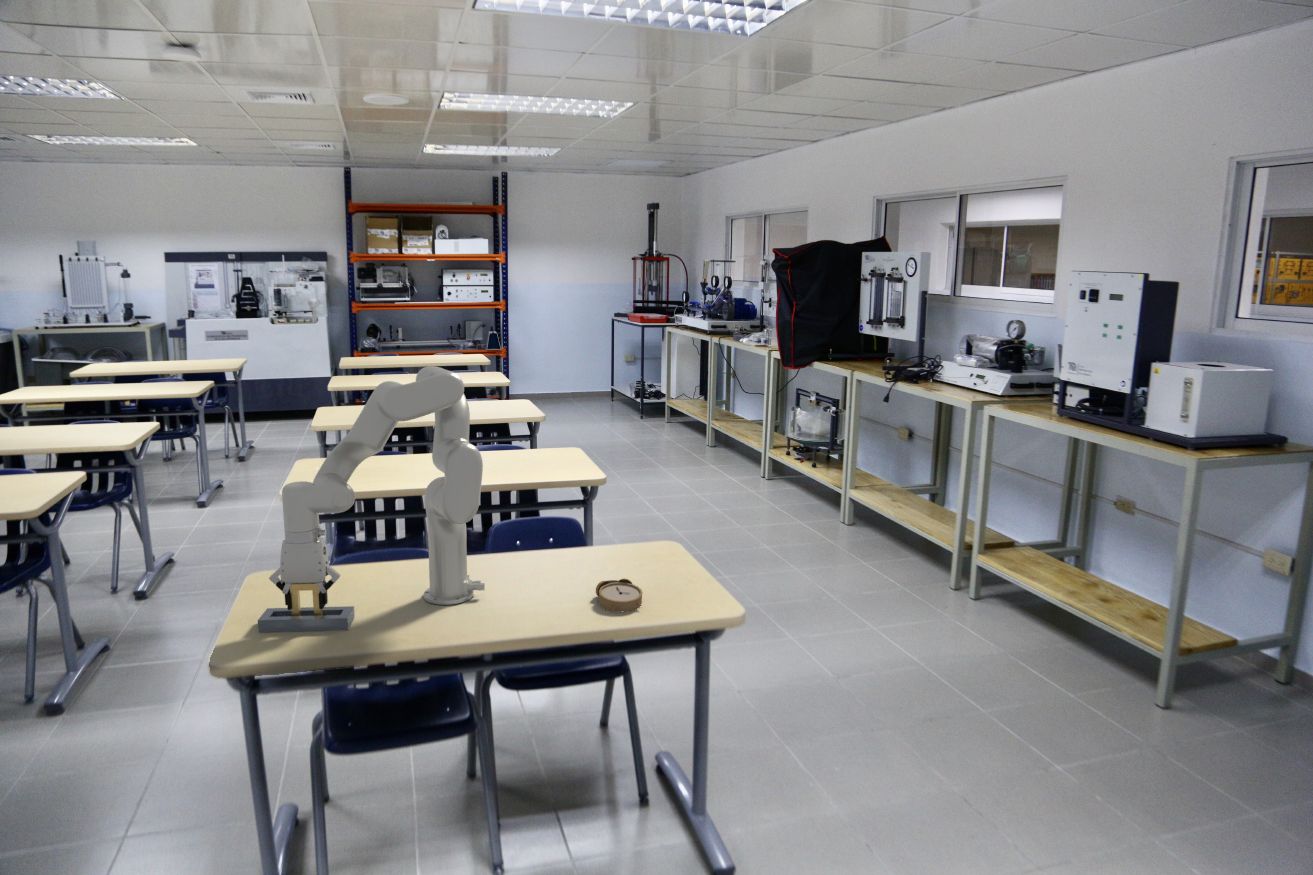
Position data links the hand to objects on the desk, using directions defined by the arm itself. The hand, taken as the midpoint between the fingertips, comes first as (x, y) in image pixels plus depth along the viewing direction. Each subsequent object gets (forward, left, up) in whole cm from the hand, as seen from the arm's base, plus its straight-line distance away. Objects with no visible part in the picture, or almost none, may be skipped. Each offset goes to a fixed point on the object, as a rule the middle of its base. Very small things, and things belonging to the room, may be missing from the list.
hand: (306, 606), depth 200 cm
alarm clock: (-75, -10, -5) cm, 76 cm away
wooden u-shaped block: (0, 0, -3) cm, 3 cm away
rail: (0, 0, -5) cm, 5 cm away
